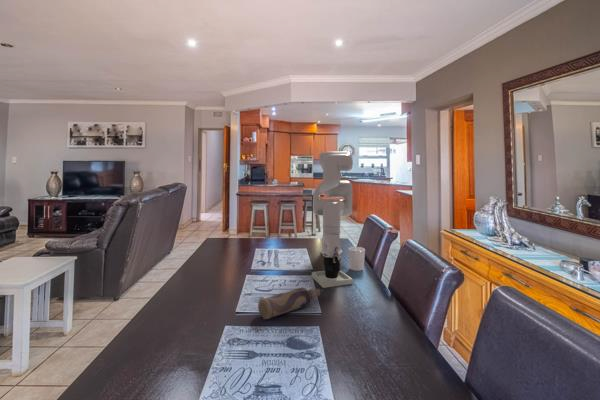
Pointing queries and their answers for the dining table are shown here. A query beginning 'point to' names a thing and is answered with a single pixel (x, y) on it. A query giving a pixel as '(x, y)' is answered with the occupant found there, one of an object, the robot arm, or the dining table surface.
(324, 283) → the tray
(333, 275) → the dixie cup
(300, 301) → the decorative bottle
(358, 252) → the white cup
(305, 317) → the dining table surface
